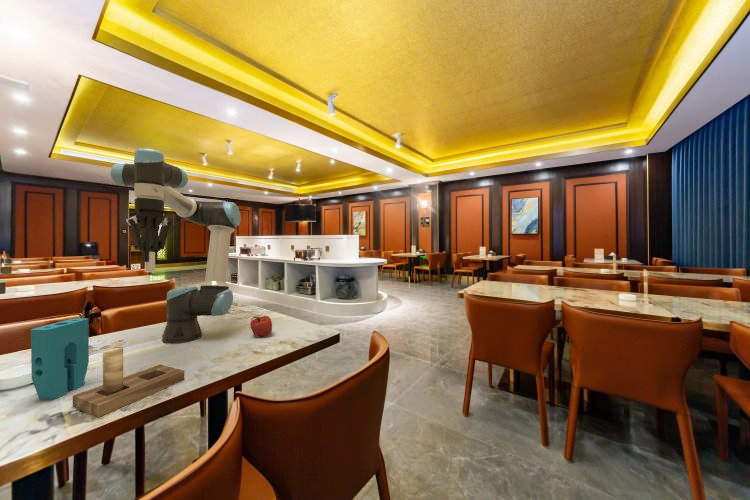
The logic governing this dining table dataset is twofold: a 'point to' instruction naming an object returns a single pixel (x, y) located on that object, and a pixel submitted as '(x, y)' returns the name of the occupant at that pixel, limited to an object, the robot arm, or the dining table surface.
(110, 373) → the peg
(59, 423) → the dining table surface
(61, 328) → the block
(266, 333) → the red apple
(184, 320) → the robot arm
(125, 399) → the board
